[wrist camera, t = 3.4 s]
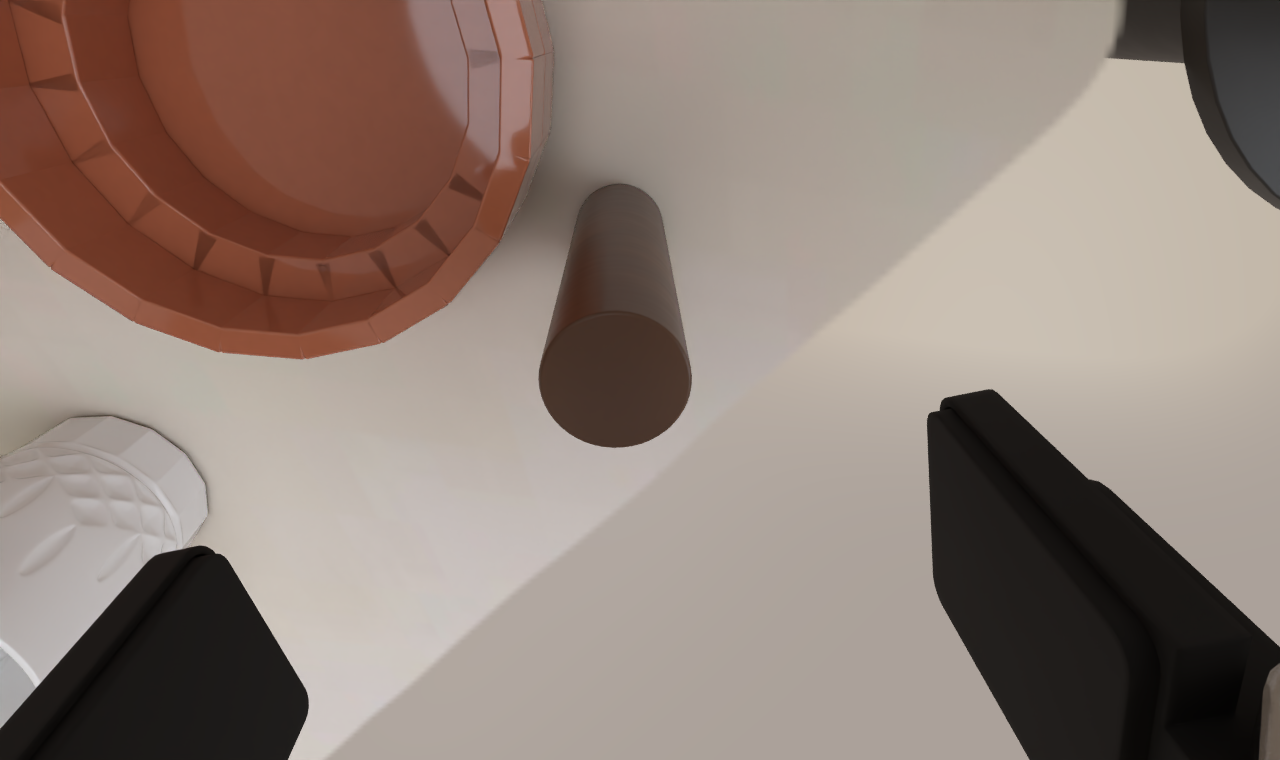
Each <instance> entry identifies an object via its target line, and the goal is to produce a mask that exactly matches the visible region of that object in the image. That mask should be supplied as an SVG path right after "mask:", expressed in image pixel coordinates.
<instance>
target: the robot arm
mask: <svg viewBox="0 0 1280 760" xmlns="http://www.w3.org/2000/svg"><path fill="white" fill-rule="evenodd" d="M927 434H928V460H929V485H930V509H931V533H932V534H931V535H932V559H933V578H934V584H935V588H936V591H937V594H938V597H939V599H940V601H941V604H942V606H943V608H944V609H945V611H946V613H947V614H948V616H949V618H950V620H951V622H952V624H953V625H954V627H955V629H956V630H957V632H958V634H959V636H960V638H961V639H962V641H963V643H964V644H965V646H966V648H967V650H968V652H969V654H970V655H971V657H972V659H973V661H974V662H975V664H976V666H977V668H978V669H979V671H980V673H981V675H982V676H983V678H984V680H985V681H986V683H987V685H988V687H989V689H990V691H991V692H992V694H993V696H994V698H995V699H996V701H997V703H998V705H999V706H1000V708H1001V710H1002V711H1003V713H1004V715H1005V717H1006V719H1007V721H1008V722H1009V724H1010V726H1011V728H1012V729H1013V731H1014V733H1015V735H1016V737H1017V738H1018V740H1019V742H1020V744H1021V745H1022V747H1023V749H1024V751H1025V752H1026V754H1027V756H1028V758H1029V759H1030V760H1280V647H1279V646H1278V645H1277V644H1276V643H1275V642H1274V641H1272V640H1271V639H1270V638H1269V637H1268V636H1267V635H1266V634H1265V633H1264V632H1263V631H1262V630H1261V629H1260V628H1258V627H1257V626H1256V625H1255V624H1254V623H1253V622H1252V621H1251V620H1250V619H1249V618H1248V617H1247V616H1246V615H1245V614H1244V613H1242V612H1241V611H1240V610H1239V609H1238V608H1237V607H1236V606H1235V605H1234V604H1233V603H1232V602H1231V601H1230V600H1228V599H1227V598H1226V597H1225V596H1224V595H1223V594H1222V593H1221V592H1220V591H1219V590H1218V589H1217V588H1216V587H1215V586H1213V585H1212V584H1211V583H1210V582H1209V581H1208V580H1207V579H1206V578H1205V577H1204V576H1203V575H1202V574H1201V573H1199V572H1198V571H1197V570H1196V569H1195V568H1194V567H1193V566H1192V565H1191V564H1190V563H1189V562H1188V561H1187V560H1185V559H1184V558H1183V557H1182V556H1181V555H1180V554H1179V553H1178V552H1177V551H1176V550H1175V549H1174V548H1173V547H1172V546H1170V545H1169V544H1168V543H1167V542H1166V541H1165V540H1164V539H1163V538H1162V537H1161V536H1160V535H1159V534H1158V533H1156V532H1155V531H1154V530H1153V529H1152V528H1151V527H1150V526H1149V525H1148V524H1147V523H1146V522H1144V521H1143V520H1142V519H1141V518H1140V517H1139V516H1138V515H1137V514H1136V513H1135V512H1134V511H1132V510H1131V508H1129V507H1128V506H1127V505H1126V504H1125V503H1124V502H1123V501H1122V500H1121V499H1120V498H1119V497H1118V496H1117V495H1116V494H1114V493H1113V492H1112V491H1111V490H1110V489H1109V488H1107V487H1106V486H1105V485H1103V484H1102V483H1100V482H1098V481H1094V480H1088V479H1087V478H1086V477H1085V476H1084V475H1083V474H1082V473H1081V472H1080V471H1079V470H1078V469H1077V468H1076V467H1075V466H1074V465H1073V464H1072V463H1071V462H1069V461H1068V460H1067V459H1066V458H1065V457H1064V456H1063V455H1062V454H1061V453H1060V452H1059V451H1058V450H1057V449H1056V448H1055V447H1054V446H1053V445H1052V444H1050V442H1048V441H1047V440H1046V439H1045V438H1044V437H1043V436H1042V435H1041V434H1040V433H1039V432H1038V431H1037V430H1036V429H1035V428H1034V427H1033V426H1032V425H1031V424H1030V423H1029V422H1028V421H1027V420H1025V419H1024V418H1023V417H1022V416H1021V415H1020V414H1019V413H1018V412H1017V411H1016V410H1015V409H1014V408H1013V407H1012V406H1011V405H1010V404H1009V403H1008V402H1007V401H1005V400H1004V399H1003V398H1002V397H1001V396H1000V395H999V394H998V393H997V392H995V391H994V390H989V389H988V390H983V391H978V392H972V393H967V394H962V395H957V396H952V397H947V398H944V399H943V400H942V402H941V405H940V411H936V412H931V413H930V414H929V415H928V418H927ZM308 708H309V700H308V695H307V692H306V689H305V687H304V686H303V684H302V682H301V681H300V679H299V677H298V676H297V674H296V672H295V671H294V669H293V667H292V666H291V664H290V662H289V661H288V659H287V657H286V656H285V654H284V652H283V651H282V649H281V648H280V646H279V644H278V643H277V641H276V639H275V638H274V636H273V634H272V633H271V631H270V629H269V628H268V626H267V624H266V623H265V621H264V619H263V618H262V616H261V614H260V613H259V611H258V609H257V608H256V606H255V604H254V603H253V601H252V599H251V598H250V596H249V594H248V593H247V591H246V589H245V588H244V586H243V585H242V583H241V581H240V580H239V578H238V576H237V575H236V573H235V571H234V570H233V568H232V566H231V565H230V563H229V561H228V560H227V559H226V558H225V557H224V556H222V555H221V554H215V552H214V551H213V550H211V549H210V548H208V547H206V546H195V547H190V548H185V549H180V550H175V551H170V552H165V553H161V554H158V555H155V556H153V557H152V558H151V559H150V560H149V561H148V562H147V563H146V564H145V565H144V566H143V567H142V568H141V570H140V571H139V572H138V573H137V574H136V575H135V576H134V577H133V579H132V580H131V581H130V582H129V583H128V584H127V585H126V587H125V588H124V589H123V590H122V591H121V592H120V593H119V594H118V596H117V597H116V598H115V599H114V600H113V601H112V602H111V604H110V605H109V606H108V607H107V608H106V609H105V610H104V612H103V613H102V614H101V615H100V616H99V617H98V618H97V619H96V621H95V622H94V623H93V624H92V625H91V626H90V627H89V629H88V630H87V631H86V632H85V633H84V634H83V635H82V636H81V638H80V639H79V640H78V641H77V642H76V643H75V644H74V646H73V647H72V648H71V649H70V650H69V651H68V652H67V653H66V655H65V656H64V657H63V658H62V659H61V660H60V661H59V663H58V664H57V665H56V666H55V667H54V668H53V669H52V671H51V672H50V673H49V674H48V675H47V676H46V677H45V678H44V680H43V681H42V682H41V683H40V684H39V685H38V686H37V688H36V689H35V690H34V691H33V692H32V693H31V694H30V695H29V697H28V698H27V699H26V700H25V701H24V702H23V703H22V705H21V706H20V707H19V708H18V709H17V710H16V711H15V712H14V714H13V715H12V716H11V717H10V718H9V719H8V720H7V722H6V723H5V724H4V725H3V726H2V727H1V728H0V760H288V758H289V756H290V754H291V751H292V749H293V747H294V745H295V742H296V740H297V738H298V736H299V734H300V731H301V729H302V727H303V725H304V722H305V720H306V717H307V714H308Z"/></svg>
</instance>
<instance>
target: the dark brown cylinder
mask: <svg viewBox="0 0 1280 760" xmlns="http://www.w3.org/2000/svg"><path fill="white" fill-rule="evenodd" d="M691 384H692V375H691V367H690V361H689V356H688V351H687V346H686V340H685V335H684V330H683V325H682V319H681V314H680V309H679V304H678V298H677V293H676V288H675V283H674V277H673V272H672V267H671V262H670V256H669V251H668V246H667V241H666V235H665V230H664V225H663V220H662V216H661V213H660V210H659V208H658V206H657V205H656V203H655V202H654V201H653V199H652V198H651V197H650V196H649V195H648V194H646V193H645V192H644V191H642V190H640V189H638V188H636V187H633V186H629V185H623V184H615V185H609V186H606V187H603V188H601V189H599V190H597V191H595V192H594V193H593V194H591V195H590V196H589V197H588V198H587V199H586V201H585V202H584V203H583V205H582V207H581V209H580V211H579V214H578V217H577V221H576V225H575V229H574V233H573V237H572V241H571V244H570V248H569V252H568V256H567V260H566V264H565V268H564V272H563V276H562V280H561V284H560V288H559V292H558V296H557V300H556V304H555V308H554V312H553V316H552V320H551V324H550V328H549V332H548V336H547V340H546V344H545V347H544V351H543V355H542V359H541V364H540V369H539V388H540V393H541V397H542V399H543V402H544V404H545V406H546V408H547V410H548V412H549V413H550V415H551V416H552V417H553V419H554V420H555V421H556V422H557V423H558V424H559V425H560V426H561V427H562V428H563V429H564V430H565V431H567V432H568V433H569V434H571V435H573V436H574V437H576V438H578V439H580V440H582V441H584V442H587V443H590V444H593V445H597V446H602V447H612V448H616V447H629V446H634V445H638V444H641V443H644V442H647V441H649V440H651V439H653V438H655V437H657V436H659V435H660V434H662V433H663V432H664V431H666V430H667V429H668V428H669V427H670V426H671V425H672V424H673V423H674V422H675V421H676V420H677V419H678V418H679V416H680V414H681V413H682V411H683V410H684V408H685V406H686V404H687V401H688V398H689V395H690V391H691Z"/></svg>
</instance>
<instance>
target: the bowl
mask: <svg viewBox="0 0 1280 760" xmlns="http://www.w3.org/2000/svg"><path fill="white" fill-rule="evenodd" d="M553 51H554V48H553V44H552V40H551V36H550V32H549V28H548V24H547V20H546V15H545V11H544V7H543V3H542V0H0V218H1V219H2V220H3V221H4V222H5V223H6V224H7V225H8V227H9V228H10V229H11V230H12V231H13V232H14V233H15V234H16V235H17V236H18V237H19V238H20V239H21V240H22V241H23V242H24V243H25V244H26V245H27V246H28V247H29V248H30V249H31V250H32V251H33V252H34V253H35V254H36V255H37V256H38V257H39V258H40V259H41V260H42V261H43V262H44V263H45V264H46V265H47V266H49V267H51V269H52V270H53V271H55V272H56V273H58V274H59V275H61V276H62V277H64V278H65V279H67V280H69V281H70V282H72V283H73V284H75V285H76V286H78V287H80V288H81V289H83V290H84V291H86V292H87V293H89V294H90V295H92V296H94V297H95V298H97V299H98V300H100V301H101V302H103V303H104V304H106V305H108V306H109V307H111V308H112V309H114V310H115V311H117V312H119V313H120V314H122V315H123V316H125V317H126V318H128V319H129V320H131V321H134V322H135V323H137V324H140V325H143V326H146V327H148V328H151V329H154V330H157V331H160V332H163V333H165V334H168V335H171V336H174V337H177V338H180V339H182V340H185V341H188V342H191V343H194V344H197V345H199V346H202V347H205V348H208V349H211V350H214V351H216V352H223V353H232V354H244V355H256V356H268V357H280V358H291V359H310V358H315V357H319V356H324V355H329V354H334V353H338V352H343V351H348V350H353V349H357V348H362V347H367V346H372V345H377V344H380V343H384V342H386V341H388V340H390V339H391V338H393V337H395V336H396V335H398V334H400V333H401V332H403V331H405V330H406V329H408V328H410V327H412V326H413V325H415V324H417V323H418V322H420V321H422V320H423V319H425V318H427V317H428V316H430V315H432V314H434V313H435V312H437V311H439V310H440V309H442V308H444V307H445V306H447V305H448V304H449V303H450V302H452V300H453V299H454V298H455V297H456V296H457V294H458V293H459V292H460V291H461V290H462V288H463V287H464V286H465V285H466V283H467V282H468V281H469V280H470V279H471V277H472V276H473V275H474V274H475V273H476V271H477V270H478V269H479V268H480V266H481V265H482V264H483V263H484V262H485V260H486V259H487V258H488V257H489V256H490V254H491V253H492V252H493V251H494V250H495V248H496V247H497V246H498V245H499V243H500V241H501V240H502V238H503V236H504V235H505V233H506V231H507V229H508V228H509V226H510V224H511V223H512V221H513V219H514V217H515V216H516V214H517V212H518V211H519V209H520V207H521V205H522V204H523V202H524V200H525V198H526V197H527V194H528V191H529V188H530V186H531V183H532V180H533V178H534V175H535V172H536V170H537V167H538V164H539V161H540V159H541V156H542V153H543V151H544V148H545V145H546V142H547V140H548V137H549V134H550V130H551V112H552V90H553V68H554V52H553Z"/></svg>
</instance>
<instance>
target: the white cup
mask: <svg viewBox="0 0 1280 760" xmlns="http://www.w3.org/2000/svg"><path fill="white" fill-rule="evenodd" d="M207 515H208V507H207V497H206V486H205V483H204V481H203V480H202V478H201V476H200V475H199V473H198V472H197V470H196V469H195V467H194V466H193V464H192V463H191V461H190V460H189V458H188V457H187V455H186V454H185V453H184V452H183V451H181V450H180V449H179V448H177V447H176V446H174V445H173V444H172V443H170V442H169V441H168V440H166V439H165V438H164V437H162V436H161V435H159V434H158V433H157V432H155V431H154V430H152V429H150V428H147V427H144V426H141V425H138V424H135V423H131V422H128V421H125V420H122V419H119V418H116V417H113V416H99V417H75V418H69V419H68V420H66V421H64V422H62V423H60V424H59V425H57V426H55V427H53V428H52V429H50V430H48V431H46V432H45V433H43V434H41V435H39V436H38V437H36V438H35V439H33V440H31V441H30V442H28V443H27V444H25V445H24V446H22V447H20V448H19V449H17V450H15V451H13V452H11V453H9V454H7V455H4V456H1V457H0V728H1V727H2V726H3V725H4V724H5V723H6V722H7V720H8V719H9V718H10V717H11V716H12V715H13V714H14V712H15V711H16V710H17V709H18V708H19V707H20V706H21V705H22V703H23V702H24V701H25V700H26V699H27V698H28V697H29V695H30V694H31V693H32V692H33V691H34V690H35V689H36V688H37V686H38V685H39V684H40V683H41V682H42V681H43V680H44V678H45V677H46V676H47V675H48V674H49V673H50V672H51V671H52V669H53V668H54V667H55V666H56V665H57V664H58V663H59V661H60V660H61V659H62V658H63V657H64V656H65V655H66V653H67V652H68V651H69V650H70V649H71V648H72V647H73V646H74V644H75V643H76V642H77V641H78V640H79V639H80V638H81V636H82V635H83V634H84V633H85V632H86V631H87V630H88V629H89V627H90V626H91V625H92V624H93V623H94V622H95V621H96V619H97V618H98V617H99V616H100V615H101V614H102V613H103V612H104V610H105V609H106V608H107V607H108V606H109V605H110V604H111V602H112V601H113V600H114V599H115V598H116V597H117V596H118V594H119V593H120V592H121V591H122V590H123V589H124V588H125V587H126V585H127V584H128V583H129V582H130V581H131V580H132V579H133V577H134V576H135V575H136V574H137V573H138V572H139V571H140V570H141V568H142V567H143V566H144V565H145V564H146V563H147V562H148V561H149V560H150V559H151V558H152V557H153V556H155V555H158V554H161V553H165V552H170V551H175V550H180V549H185V548H187V547H188V546H189V545H190V544H191V542H192V541H193V539H194V538H195V536H196V534H197V533H198V531H199V529H200V527H201V526H202V524H203V522H204V521H205V519H206V517H207Z"/></svg>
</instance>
